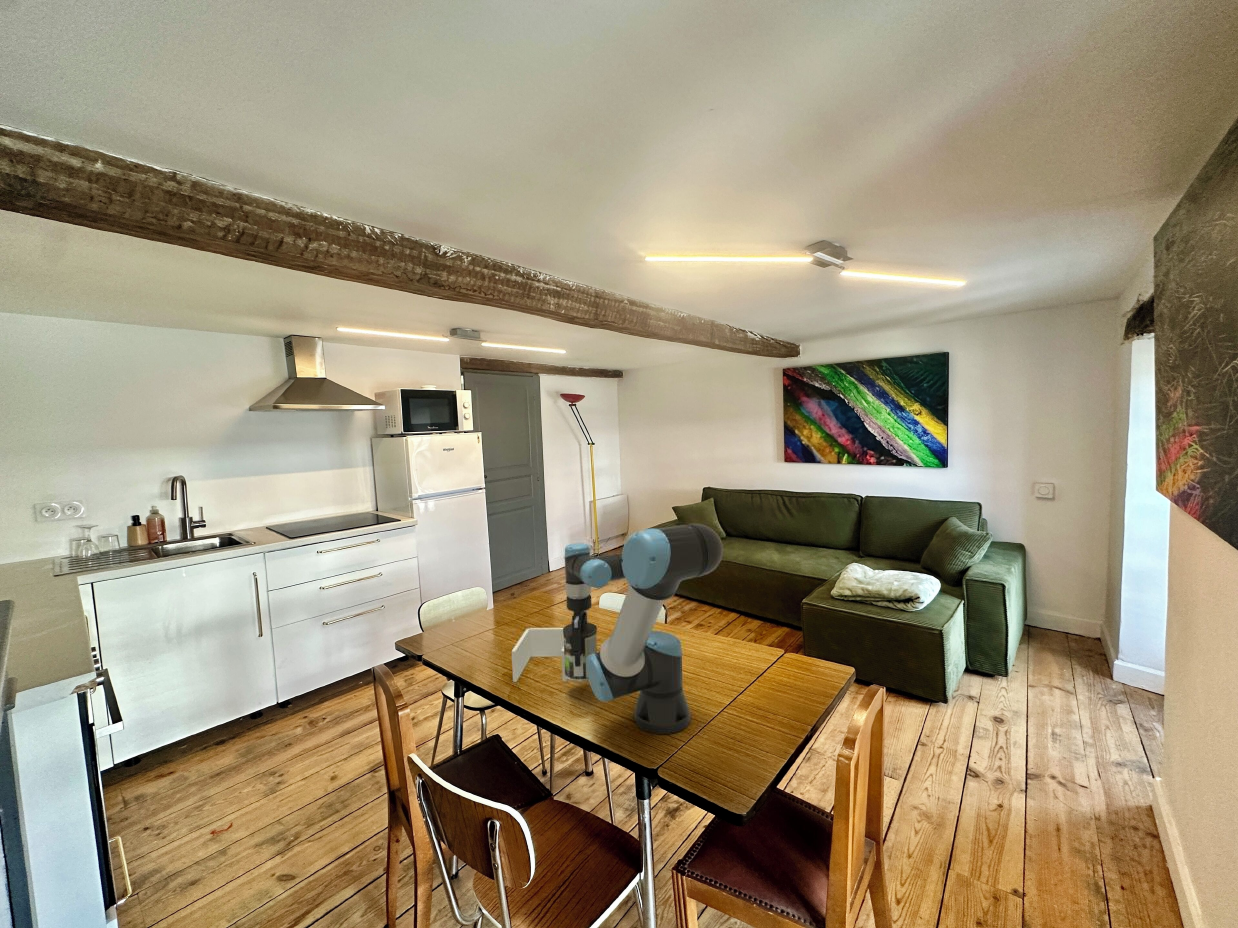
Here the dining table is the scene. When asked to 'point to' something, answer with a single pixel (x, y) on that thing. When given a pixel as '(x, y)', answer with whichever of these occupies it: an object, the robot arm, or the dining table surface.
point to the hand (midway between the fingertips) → (581, 666)
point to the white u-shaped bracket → (538, 648)
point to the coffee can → (587, 649)
